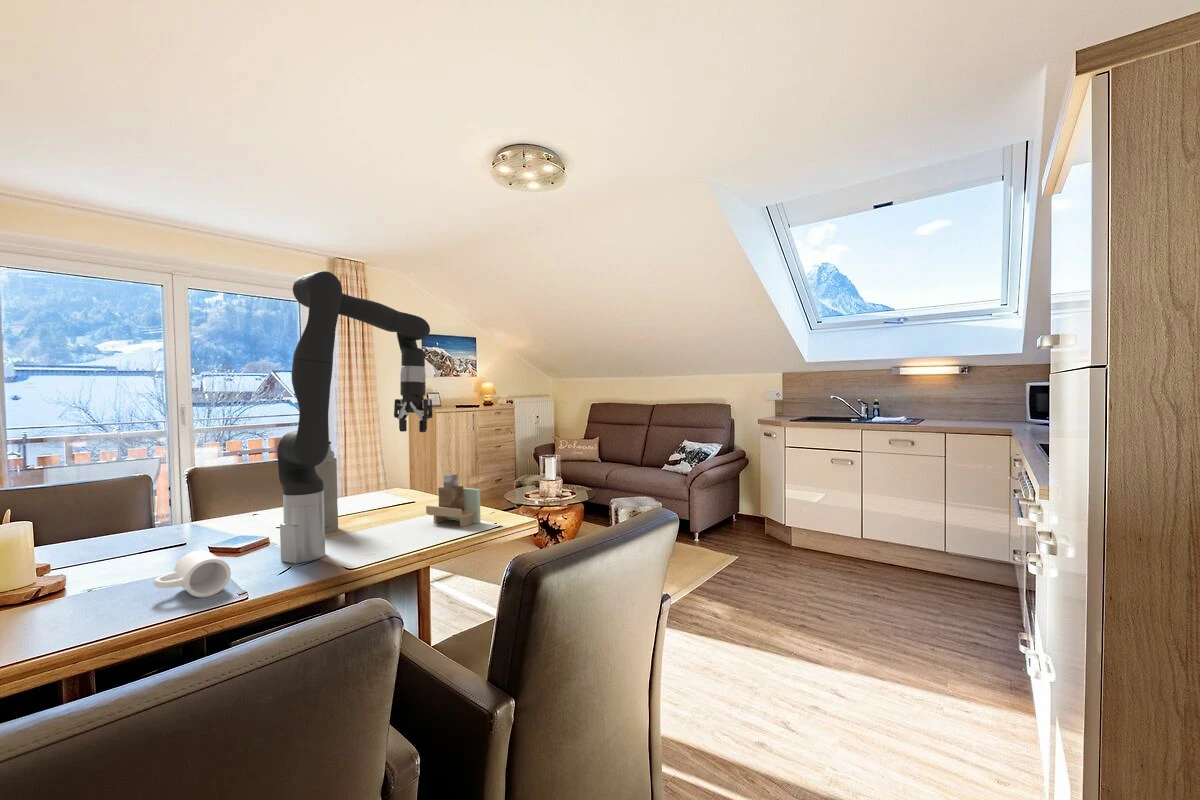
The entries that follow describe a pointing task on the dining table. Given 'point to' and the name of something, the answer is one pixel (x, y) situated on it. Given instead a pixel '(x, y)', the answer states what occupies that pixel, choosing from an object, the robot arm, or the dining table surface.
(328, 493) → the thermos bottle
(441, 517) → the small display stand
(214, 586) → the mug
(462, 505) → the brown box
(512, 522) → the dining table surface
